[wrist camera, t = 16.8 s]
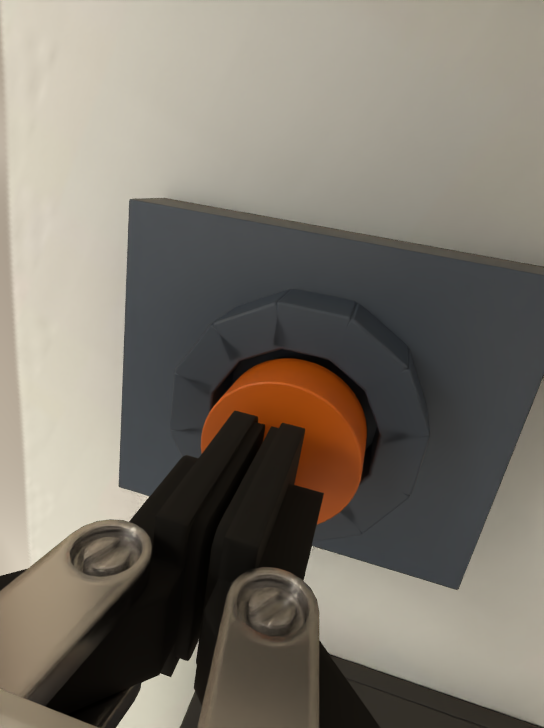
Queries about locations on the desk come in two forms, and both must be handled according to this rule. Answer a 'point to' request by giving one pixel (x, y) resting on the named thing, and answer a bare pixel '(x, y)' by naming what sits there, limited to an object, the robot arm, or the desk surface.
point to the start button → (304, 423)
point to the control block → (337, 363)
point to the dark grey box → (402, 704)
